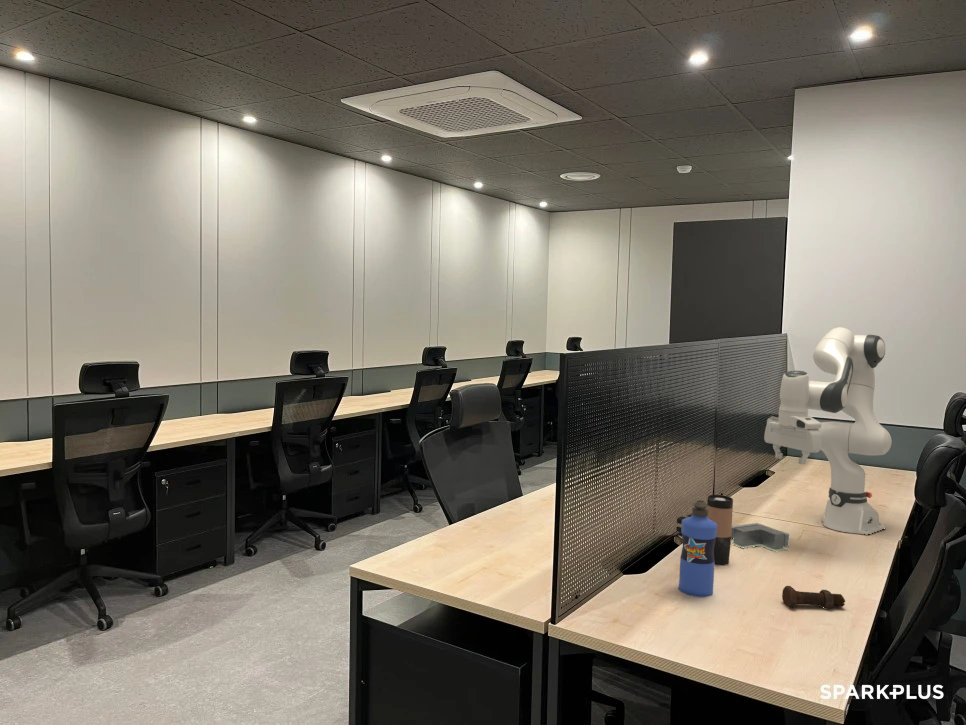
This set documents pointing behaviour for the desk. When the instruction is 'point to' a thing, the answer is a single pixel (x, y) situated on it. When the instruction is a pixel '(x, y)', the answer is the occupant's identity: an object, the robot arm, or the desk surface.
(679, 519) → the end cap
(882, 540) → the desk surface
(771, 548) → the mat
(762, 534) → the bracket
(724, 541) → the travel mug
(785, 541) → the corner walls
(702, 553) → the water bottle
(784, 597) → the bolt
